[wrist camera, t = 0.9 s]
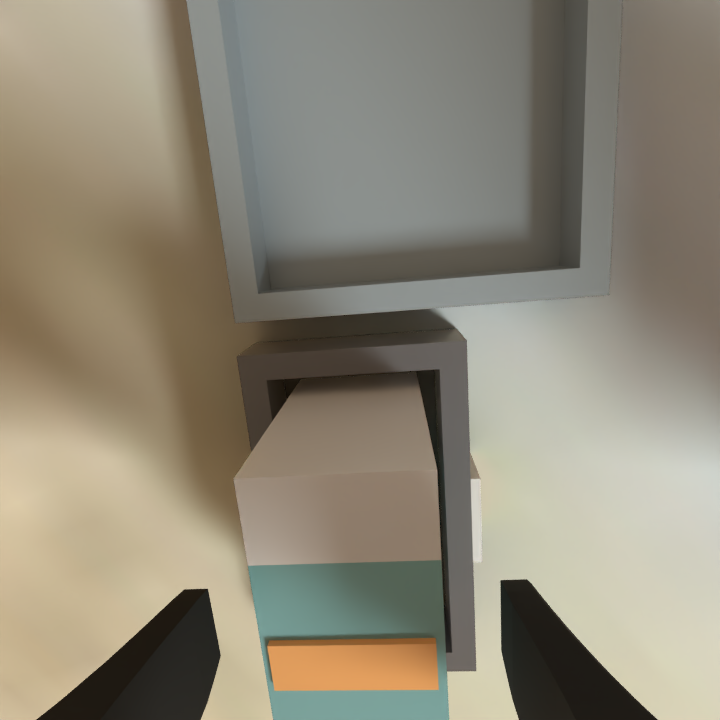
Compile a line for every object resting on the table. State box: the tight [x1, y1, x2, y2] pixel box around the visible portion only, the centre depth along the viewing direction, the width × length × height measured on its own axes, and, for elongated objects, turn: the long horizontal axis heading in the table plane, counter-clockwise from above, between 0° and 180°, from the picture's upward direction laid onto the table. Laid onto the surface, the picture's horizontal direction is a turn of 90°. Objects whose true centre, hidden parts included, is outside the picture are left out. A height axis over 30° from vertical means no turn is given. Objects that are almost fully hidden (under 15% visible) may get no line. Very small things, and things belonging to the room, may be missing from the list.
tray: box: [186, 0, 623, 323], centre depth 12 cm, size 11×14×2 cm
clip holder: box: [237, 329, 482, 671], centre depth 16 cm, size 7×12×2 cm, turn 5°
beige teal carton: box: [233, 372, 449, 720], centre depth 13 cm, size 4×9×7 cm, turn 5°
